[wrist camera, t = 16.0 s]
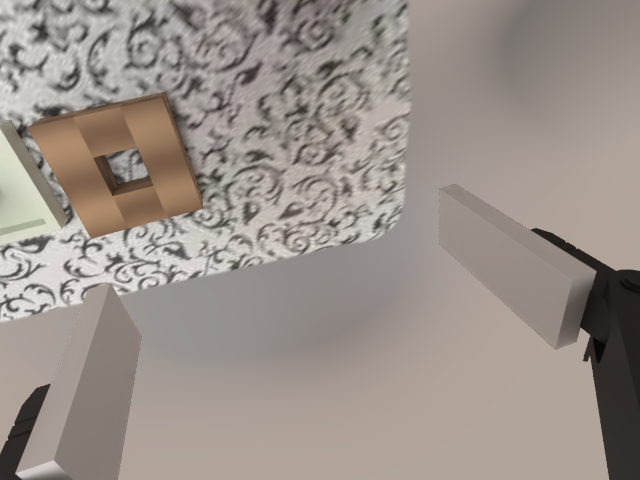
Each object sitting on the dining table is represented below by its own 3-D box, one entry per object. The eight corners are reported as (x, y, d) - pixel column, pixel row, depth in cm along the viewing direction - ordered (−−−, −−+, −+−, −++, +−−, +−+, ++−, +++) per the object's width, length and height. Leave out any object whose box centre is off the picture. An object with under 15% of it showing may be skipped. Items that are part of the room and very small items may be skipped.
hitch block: (40, 119, 37) (27, 127, 34) (164, 92, 39) (162, 97, 36) (98, 223, 44) (91, 238, 41) (202, 196, 45) (202, 208, 43)
